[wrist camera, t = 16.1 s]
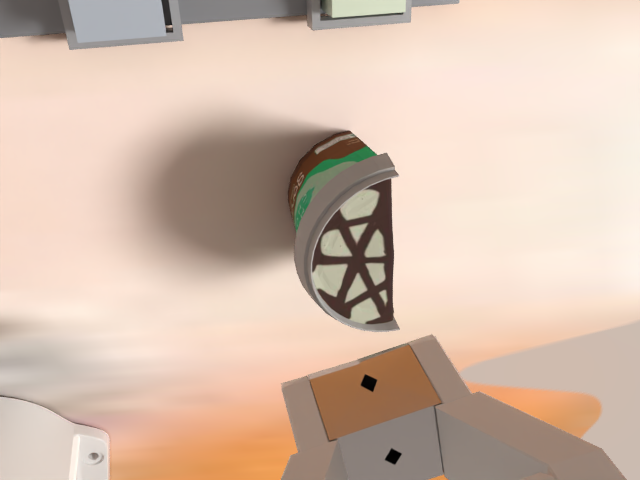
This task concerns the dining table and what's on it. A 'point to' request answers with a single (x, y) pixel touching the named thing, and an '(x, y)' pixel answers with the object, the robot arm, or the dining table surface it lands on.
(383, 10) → the sage key
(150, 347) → the dining table surface
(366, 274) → the food container
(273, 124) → the dining table surface
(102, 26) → the slate key
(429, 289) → the dining table surface
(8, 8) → the keypad base
